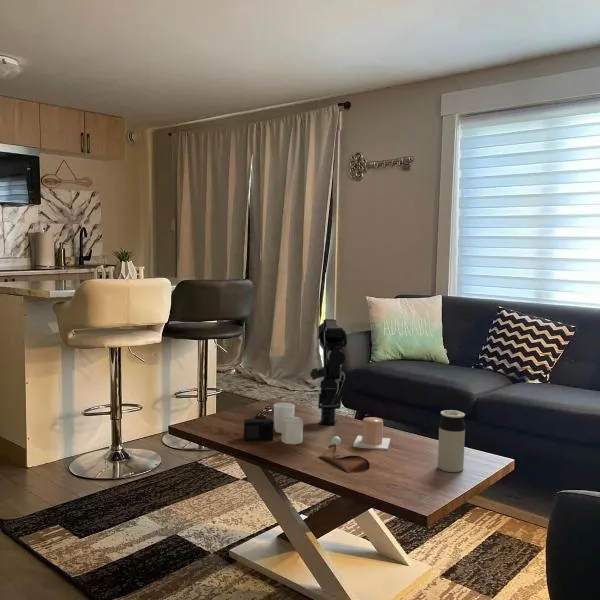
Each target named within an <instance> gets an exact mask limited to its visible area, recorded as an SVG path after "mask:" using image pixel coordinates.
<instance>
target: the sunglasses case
mask: <svg viewBox="0 0 600 600" xmlns="http://www.w3.org/2000/svg"><path fill="white" fill-rule="evenodd" d="M317 458H319V459H321V460H323V461H326V462H327V463H329V464H332V465H333V466H335V467H337V468H339V469H341V470H343V471H344V472H346V473H347V474H351V473H357V472H360V471H366V470H369V469H370V466H371V465H370V462H369V461H368V459H366V458H365V457H363V456H360V455H358V454H356V453H354V452H352V451H350V450H347V449H345V448H343V447H341V446H340V445H336V444H335V445H332V447H330V448H328V449H327V450H326V451H325V452H323V453H322V454H321V455H319V456H317Z"/></svg>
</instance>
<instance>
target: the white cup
mask: <svg viewBox="0 0 600 600" xmlns="http://www.w3.org/2000/svg"><path fill="white" fill-rule="evenodd" d="M295 406H296V405H295V404H294V403H291V402H276V403H274V404H273V422H274V423H273V424H274V431H275V433H278V434H282V421H283V418H285V417H295Z"/></svg>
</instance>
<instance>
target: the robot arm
mask: <svg viewBox="0 0 600 600" xmlns="http://www.w3.org/2000/svg"><path fill="white" fill-rule="evenodd" d="M317 340H318V344H319V346H320V348H321V349H322V355H323V356H322V360H323V361H322V363H323V364H322V365H323V366H321V367H315V368H312V369H311V370H310V372H309V373H310V375H309V376H310V377H311V378H312V380H313V381H314V380H316V379H320V378H323V379H322V380H321V381H320V385H319V387H320V390H319V393H318V396H317V408H318V410H320V409H321V410H320V420H319V421H318V424H319V425H326V426H327V425H328V426H329V425H330V426H335V425H336V424H337V422H338V419H336V412H337V411H336V410H337V409H338V410H340V409H341V403H342V397H341V393H340V391H341V389H342V387H343V384H344V382H345V380H346V373H345V372H344V371H342V367H343V364H344V362H345V360H346V355H345V354H344V352H343V349H342V348H347V345H348V338H347V333H346V330H344V328H343V326H339V325H338V324H337V320H336V319H335V318H325V319H323V322H322V323H321V324H320V325H318V328H317Z"/></svg>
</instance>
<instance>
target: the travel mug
mask: <svg viewBox="0 0 600 600" xmlns="http://www.w3.org/2000/svg"><path fill="white" fill-rule="evenodd" d="M440 415H441V419H440V421H439V426H438V444H437V445H438V447H437V449H438V451H437V468H438V469H440V470H442V471H444V472H447V473H460V472H461V471H463V470H464V463H465V462H464V461H465V459H464V458H465V437H466V436H465V435H466V423H465V420H464V417H465V416H466V413H464V412H462V411H460V410H453V409H449V410H448V409H447V410H442V411H440Z"/></svg>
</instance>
